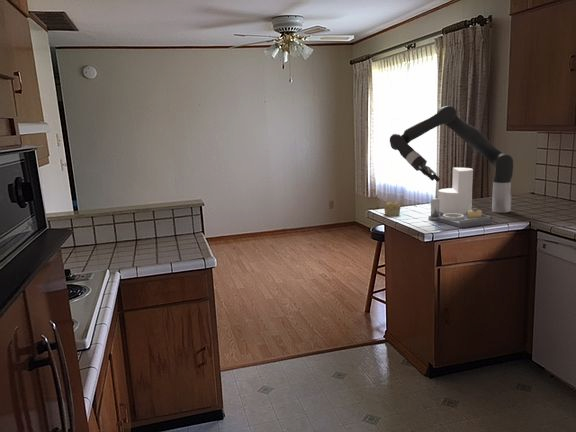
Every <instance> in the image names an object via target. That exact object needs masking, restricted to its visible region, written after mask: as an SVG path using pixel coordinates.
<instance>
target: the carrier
mask: <svg viewBox="0 0 576 432" xmlns="http://www.w3.org/2000/svg"><path fill="white" fill-rule="evenodd" d="M438 222H441V223H444V224H447V225H452V226H455V227H457V228H465V227H474V226H479V225H486V224H487V225H488V224H492V222H493V215H487V214H484V213H483V211H482V210H481V209H478V207H472V210H468V211H467V213H466V214H457V213H448V214H443V213H442V216H441V217H438Z"/></svg>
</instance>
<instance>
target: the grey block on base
mask: <svg viewBox="0 0 576 432" xmlns="http://www.w3.org/2000/svg"><path fill="white" fill-rule="evenodd" d="M438 217H442V216H441V215H440V212H439V199H438V197H437V198H436V197H435V198H433V197H432V198H431V199H430V215H428V220H429V221H432V222H433V221H434V222H437V221H438ZM438 222H439V221H438Z"/></svg>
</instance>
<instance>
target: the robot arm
mask: <svg viewBox="0 0 576 432" xmlns="http://www.w3.org/2000/svg"><path fill="white" fill-rule="evenodd" d="M441 125H444V126H446V127H448V128H449V129H451V130H452V131H453V132H454V133H455V134H456V135H457V136H458V137H459V138H460V139H462V140H463V141H464V143H466V144H467V145H468V146H470V148H472V149H473V150H475V151H476V152H477V153H479V154H480V155H482V156H483V157H484V158H485V159H487V160H488V162H489V163H490V164H491V165H492V166H493V168H495V173H494V176H493V178H492V179H493V180H492V181H493V182H492V198H491V199H492V202H491V212H493V213H498V214H499V213H503V214H506V213H509V212H511V210H512V194H511V187H512V186H511V185H512V178H513V173H514V159H513V157H512V156H511V155H509V154H507V153H503V152H502V151H501V150H499V149H497V148H496V147H495V146H493V145H492V143H491V142H490V140H489V139H488V138H487V136H486V135H484V133H482V132H481V131H480V130H479V129H478V128H476V127H474V126H473V125H471V124H469V123H467V122H466V121H464V120H462V119H461V118H460V117H458V115H457V110H456V108H455V107H453V106H452V105H444V106H442V107H440V108H438V110H437V112H436V113H435V114H434V115H432V116H430V117H429V118H427V119H424V120H423V121H420V122H418V123H416V124H414V125H412V126H410V127H408V128H407V129H405V130H404V132H403V133H402V134H401V135H400V133H394V134H392V135H390V138H389V144H390V148H391V149H393V150H395V151H398V152H399V154H400V156H401V157H402V158H403V159H404V160H406V161H407V163H408V164H409V165H410V166H411V167H412V169H414V170H415V171H416V172H418V171H419V172H421V173H422V174H423V175H424V176H426V177H427V178H428V179H430V181H434V180H435V182H437V183H439V182H440V181H441V178H440V177H439V176H438V175H437V173H436V172H435V171H434V170H433V169H432V168H431V167H429V166H428V165H427V160H426V159H425V158H424V157H423V156H422V155H421V154H420V153H419V152H417V151H416V150H415V149H414V148H412V146H410V144H409V143H410V142H411V141H414V140H415V139H418V138H419V137H421V136H422V135H424V134H426V133H427V132H429V131H431V130H433V129H435V128H437V127H440V126H441Z"/></svg>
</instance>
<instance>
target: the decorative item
mask: <svg viewBox="0 0 576 432" xmlns="http://www.w3.org/2000/svg"><path fill="white" fill-rule="evenodd" d="M401 208H402V207H401V205H400V203H399V202H398V201H395V200H394V201H388V202H386V203H385V205H384V208H383V209H384V215H385V216H389V217H390V216H391V217H395V216H396V217H397V216H399V215H400V213H401V212H400V211H401Z"/></svg>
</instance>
